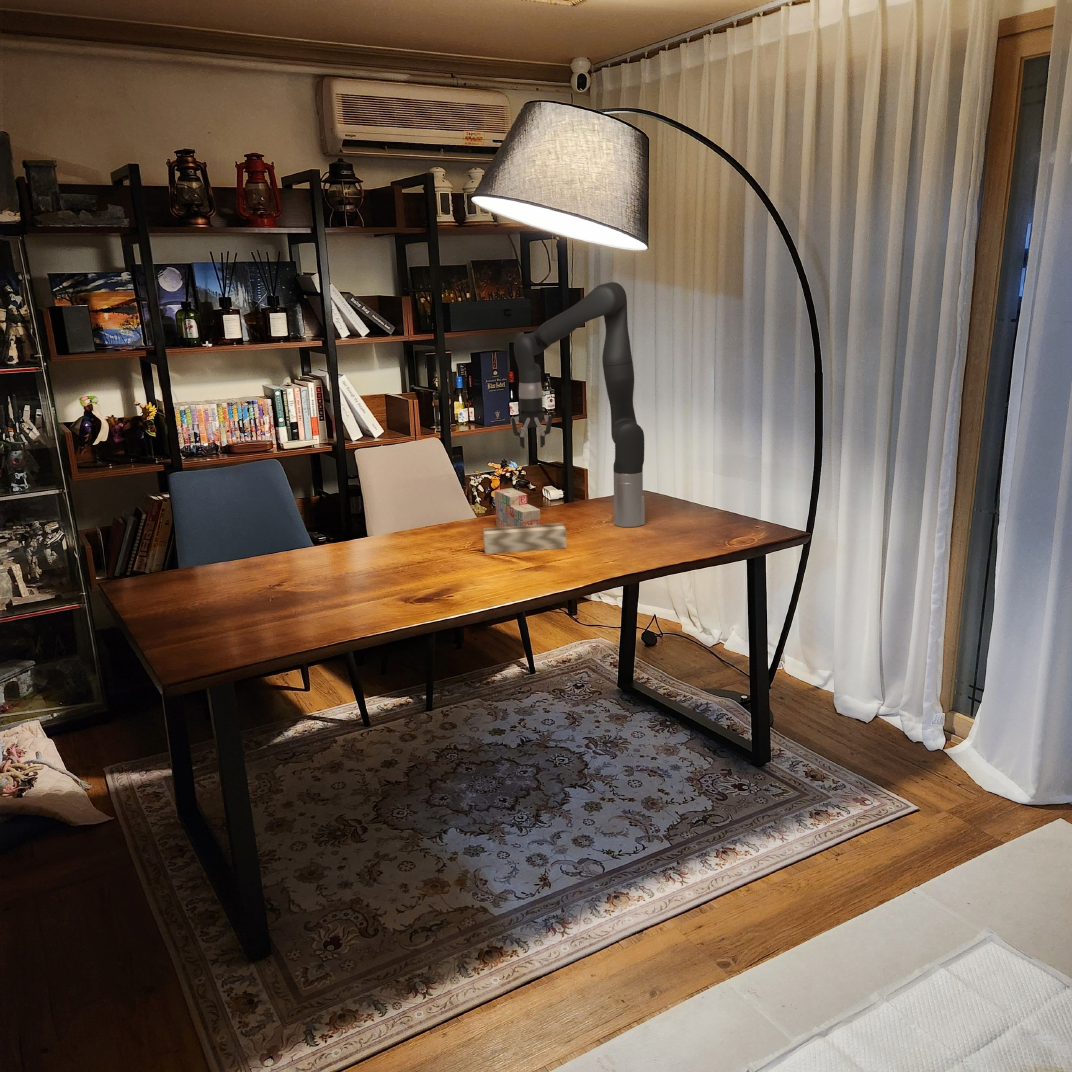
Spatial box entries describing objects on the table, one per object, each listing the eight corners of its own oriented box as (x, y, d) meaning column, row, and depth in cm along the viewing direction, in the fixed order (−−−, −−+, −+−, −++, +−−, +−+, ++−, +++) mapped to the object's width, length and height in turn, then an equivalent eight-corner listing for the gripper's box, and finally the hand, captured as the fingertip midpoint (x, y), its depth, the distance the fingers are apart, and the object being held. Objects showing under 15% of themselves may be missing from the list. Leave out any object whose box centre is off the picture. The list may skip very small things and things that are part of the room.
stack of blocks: (541, 538, 284) (540, 499, 281) (522, 541, 281) (521, 502, 278) (513, 523, 303) (511, 487, 299) (495, 526, 300) (494, 489, 297)
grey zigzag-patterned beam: (563, 543, 277) (563, 522, 275) (566, 548, 272) (565, 526, 270) (484, 549, 274) (482, 528, 272) (485, 554, 269) (484, 532, 268)
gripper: (550, 393, 304) (552, 444, 309) (507, 396, 302) (509, 447, 307) (554, 396, 297) (555, 448, 301) (509, 398, 295) (512, 450, 300)
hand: (532, 447), depth 304 cm, fingers open, 5 cm apart
